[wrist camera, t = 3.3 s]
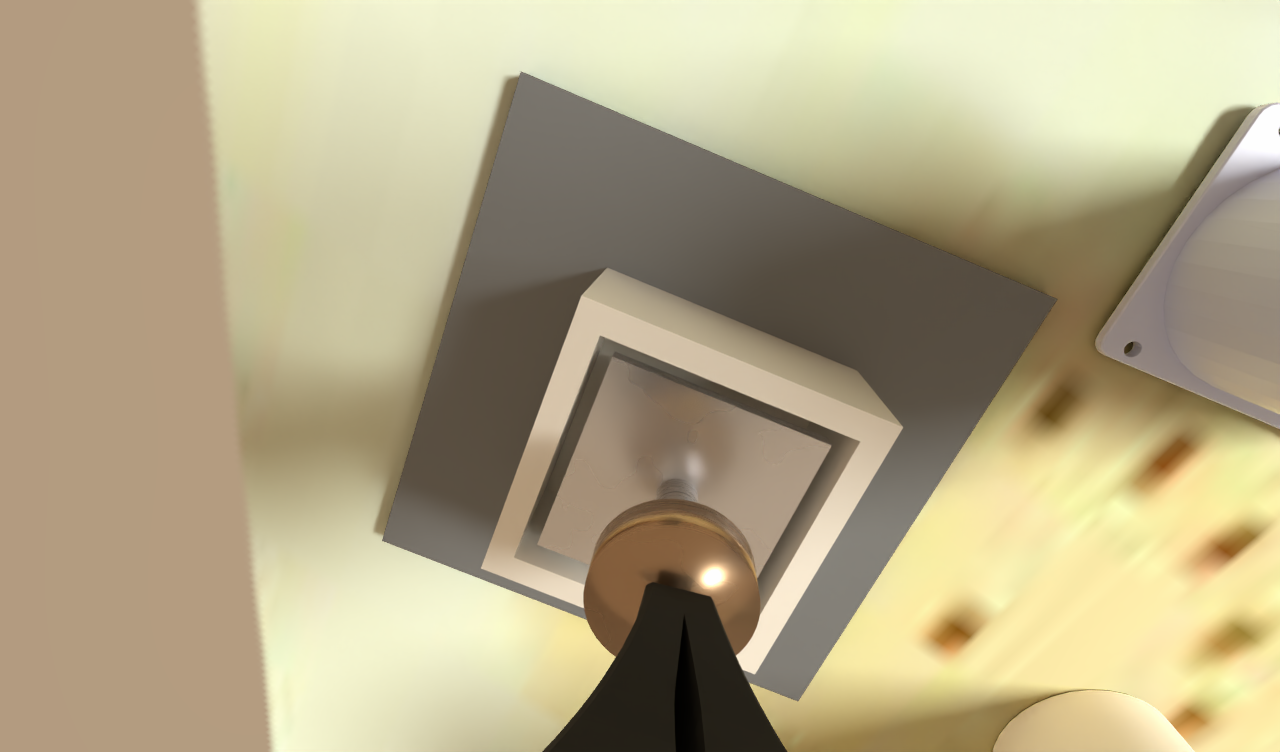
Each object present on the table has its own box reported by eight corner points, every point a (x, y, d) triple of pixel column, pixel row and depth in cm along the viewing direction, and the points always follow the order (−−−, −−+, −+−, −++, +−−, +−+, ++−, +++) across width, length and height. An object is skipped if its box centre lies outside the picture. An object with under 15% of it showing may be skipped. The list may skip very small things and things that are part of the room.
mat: (1046, 295, 20) (1057, 299, 19) (795, 689, 26) (798, 701, 25) (525, 74, 19) (520, 71, 18) (389, 532, 25) (382, 540, 24)
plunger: (827, 437, 17) (880, 543, 12) (732, 609, 19) (744, 757, 14) (614, 351, 17) (582, 423, 12) (540, 535, 19) (488, 659, 14)
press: (857, 370, 20) (903, 427, 16) (743, 577, 23) (755, 674, 19) (607, 267, 20) (581, 295, 16) (523, 490, 23) (480, 568, 18)
